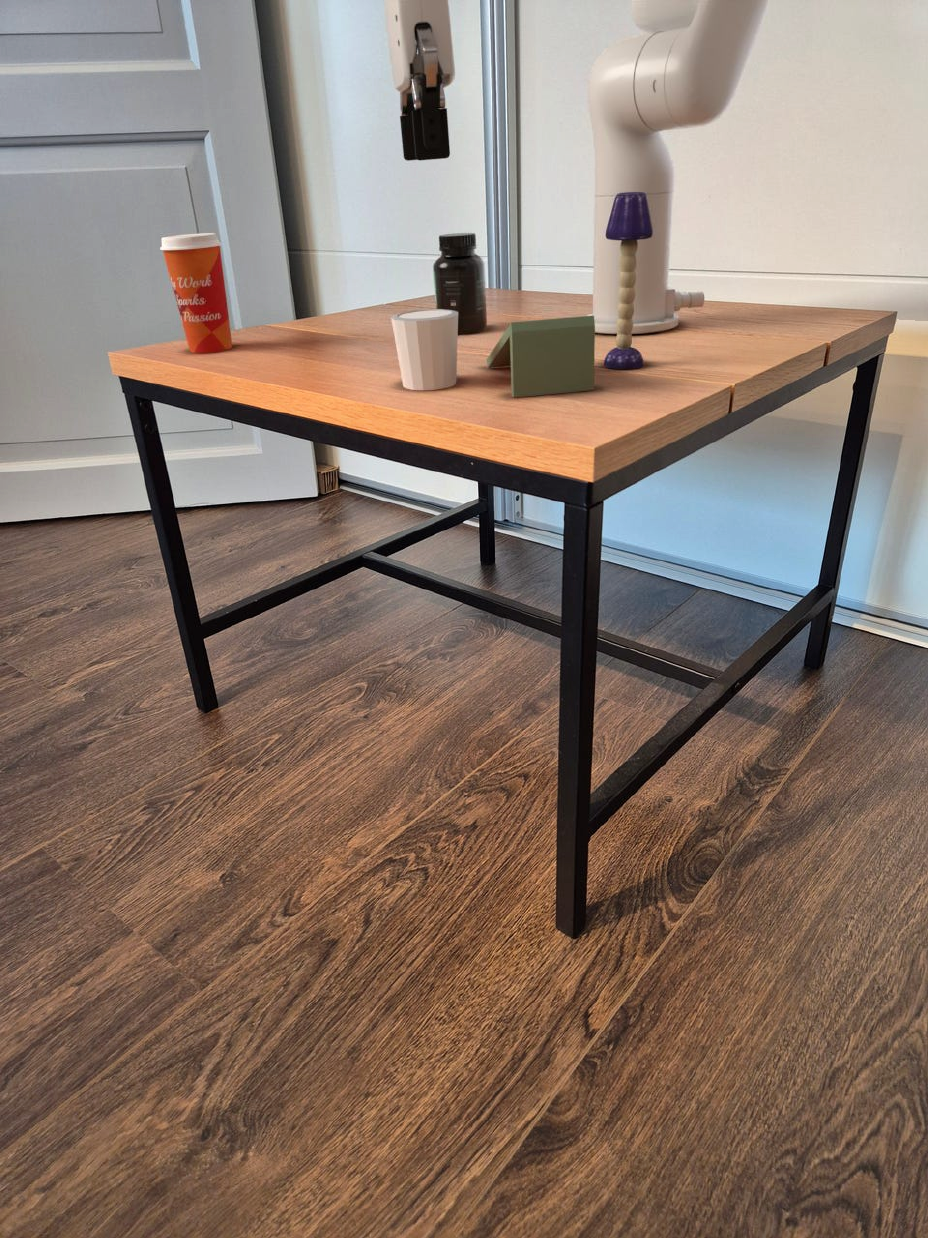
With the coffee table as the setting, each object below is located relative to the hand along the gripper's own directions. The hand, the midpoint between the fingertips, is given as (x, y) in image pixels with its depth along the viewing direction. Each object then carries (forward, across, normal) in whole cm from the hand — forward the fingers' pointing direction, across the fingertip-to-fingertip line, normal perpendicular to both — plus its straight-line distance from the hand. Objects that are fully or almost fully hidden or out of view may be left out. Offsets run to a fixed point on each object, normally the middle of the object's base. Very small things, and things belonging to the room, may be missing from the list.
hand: (426, 159), depth 82 cm
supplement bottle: (+21, +24, -6) cm, 33 cm away
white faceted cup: (+21, -6, +2) cm, 22 cm away
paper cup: (+21, +27, +28) cm, 44 cm away
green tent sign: (+21, -8, -9) cm, 24 cm away
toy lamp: (+21, -6, -19) cm, 29 cm away
